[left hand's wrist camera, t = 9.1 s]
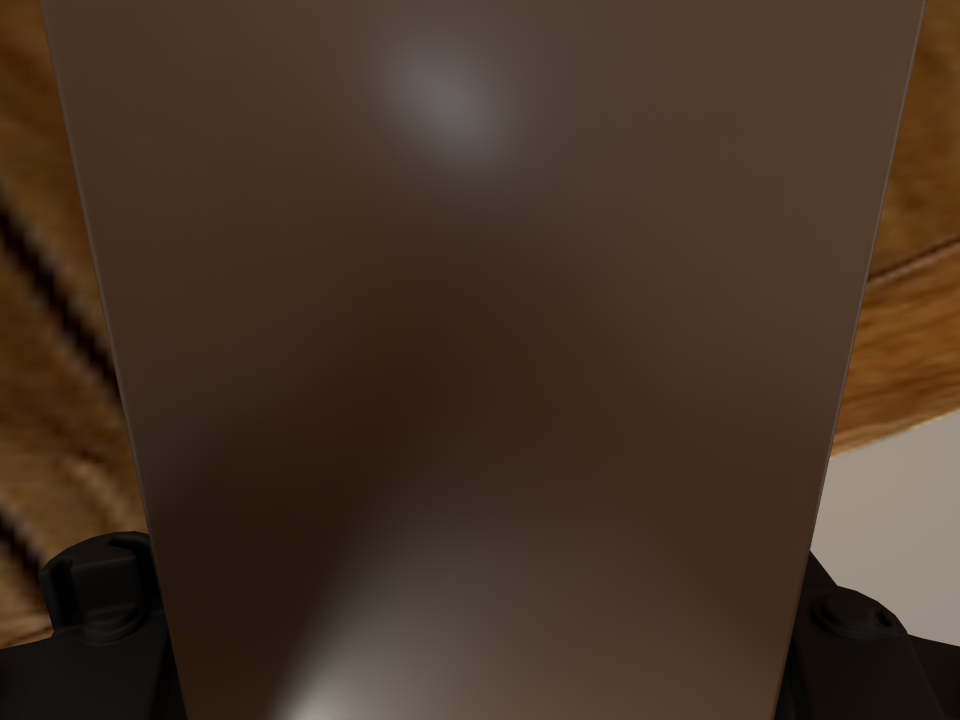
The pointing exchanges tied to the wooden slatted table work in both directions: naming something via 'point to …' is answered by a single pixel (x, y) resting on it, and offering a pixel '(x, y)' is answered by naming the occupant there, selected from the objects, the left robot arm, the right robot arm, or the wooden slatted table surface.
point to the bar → (481, 335)
